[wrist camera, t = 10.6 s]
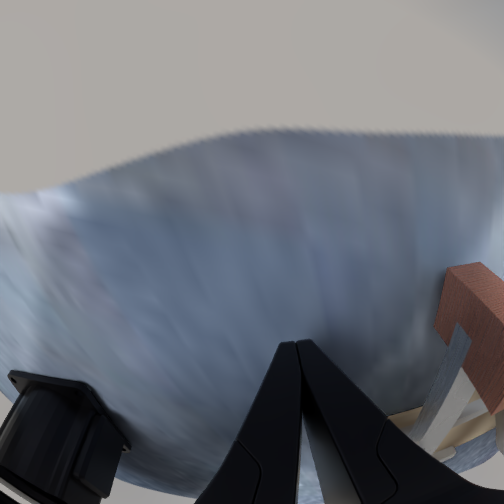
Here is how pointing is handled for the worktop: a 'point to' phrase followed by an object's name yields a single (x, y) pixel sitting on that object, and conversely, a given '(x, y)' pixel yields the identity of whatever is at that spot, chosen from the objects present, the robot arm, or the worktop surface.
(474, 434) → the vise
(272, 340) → the worktop surface
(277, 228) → the worktop surface
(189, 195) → the worktop surface
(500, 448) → the salt shaker
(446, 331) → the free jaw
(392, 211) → the worktop surface
